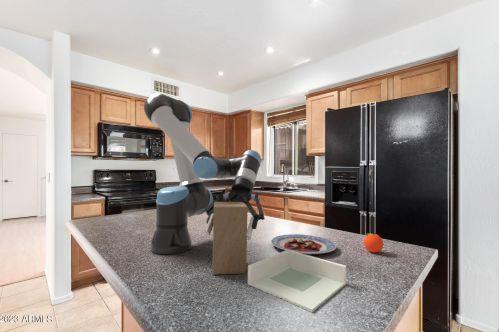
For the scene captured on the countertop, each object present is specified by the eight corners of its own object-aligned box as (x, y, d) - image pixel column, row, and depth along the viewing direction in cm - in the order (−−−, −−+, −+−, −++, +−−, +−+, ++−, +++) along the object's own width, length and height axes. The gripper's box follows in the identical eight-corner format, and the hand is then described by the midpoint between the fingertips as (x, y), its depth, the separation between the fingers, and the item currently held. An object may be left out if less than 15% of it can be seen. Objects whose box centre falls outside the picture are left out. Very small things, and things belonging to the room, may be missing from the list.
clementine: (358, 251, 98) (358, 233, 98) (364, 247, 103) (364, 230, 103) (380, 256, 92) (380, 237, 92) (385, 252, 97) (385, 233, 97)
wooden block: (212, 262, 83) (214, 201, 83) (242, 261, 84) (244, 201, 84) (212, 275, 73) (213, 206, 73) (246, 274, 74) (247, 206, 74)
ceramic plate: (341, 262, 86) (341, 253, 86) (267, 255, 91) (267, 247, 91) (332, 241, 112) (332, 234, 112) (274, 237, 117) (274, 230, 117)
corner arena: (247, 284, 68) (248, 265, 68) (287, 265, 82) (287, 249, 82) (312, 312, 55) (312, 289, 55) (346, 284, 69) (346, 265, 69)
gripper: (278, 191, 90) (268, 245, 76) (215, 189, 98) (195, 237, 83) (276, 177, 85) (264, 232, 71) (209, 175, 93) (187, 224, 78)
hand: (227, 235), depth 77 cm, fingers closed on wooden block, 13 cm apart
